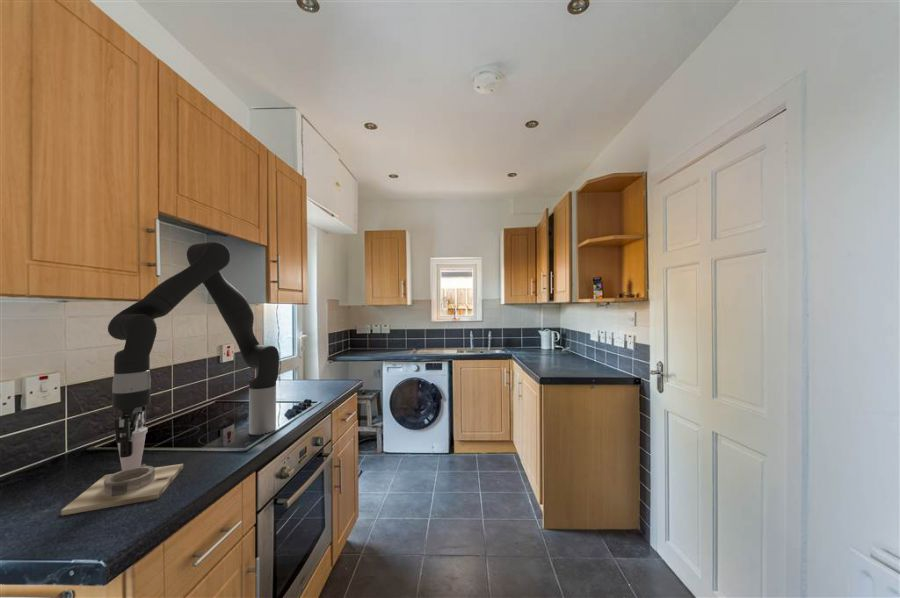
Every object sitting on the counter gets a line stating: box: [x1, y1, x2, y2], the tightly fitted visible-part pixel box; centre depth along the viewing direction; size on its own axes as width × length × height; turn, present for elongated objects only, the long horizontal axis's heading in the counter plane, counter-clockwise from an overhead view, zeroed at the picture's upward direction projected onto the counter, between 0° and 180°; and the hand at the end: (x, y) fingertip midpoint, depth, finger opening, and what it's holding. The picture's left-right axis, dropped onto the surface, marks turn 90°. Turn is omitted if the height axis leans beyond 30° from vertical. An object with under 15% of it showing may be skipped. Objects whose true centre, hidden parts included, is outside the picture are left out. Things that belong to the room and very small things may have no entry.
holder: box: [60, 463, 184, 516], centre depth 91 cm, size 18×18×4 cm
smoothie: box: [114, 426, 148, 471], centre depth 91 cm, size 6×6×14 cm
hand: (131, 451), depth 91 cm, fingers closed on smoothie, 6 cm apart
